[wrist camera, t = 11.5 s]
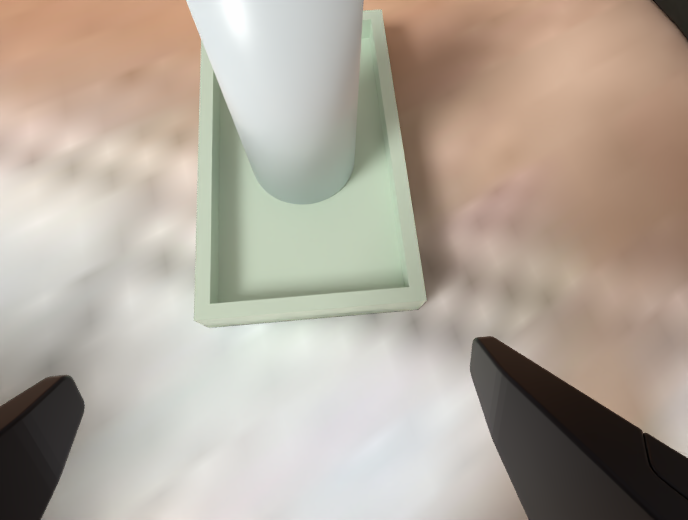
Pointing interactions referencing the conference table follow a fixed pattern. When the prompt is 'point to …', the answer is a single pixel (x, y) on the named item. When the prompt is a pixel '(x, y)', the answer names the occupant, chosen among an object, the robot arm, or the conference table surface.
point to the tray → (306, 218)
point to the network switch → (676, 12)
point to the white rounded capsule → (289, 87)
